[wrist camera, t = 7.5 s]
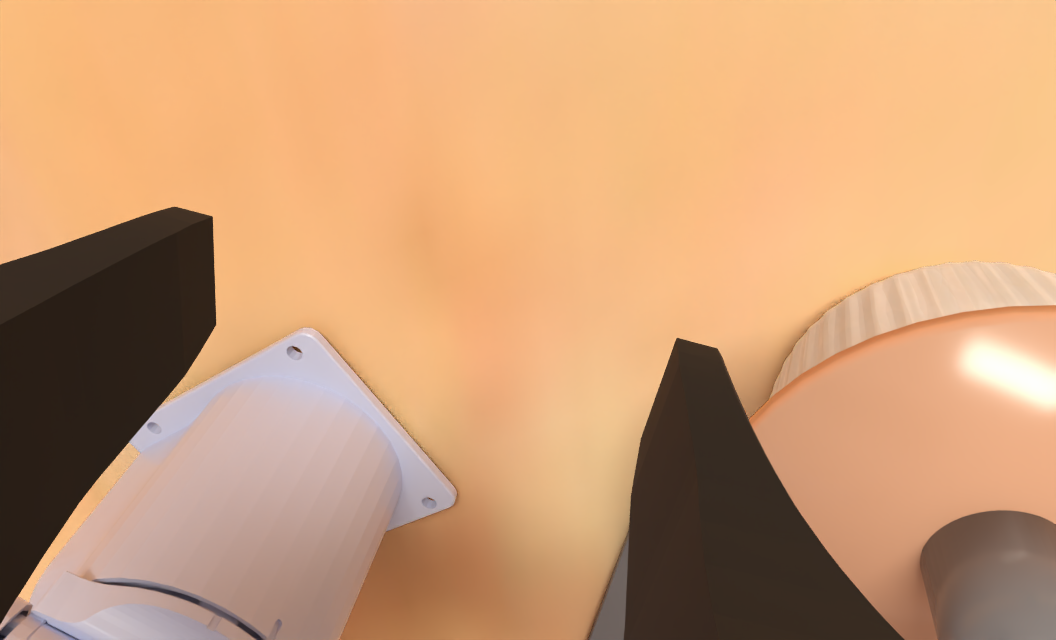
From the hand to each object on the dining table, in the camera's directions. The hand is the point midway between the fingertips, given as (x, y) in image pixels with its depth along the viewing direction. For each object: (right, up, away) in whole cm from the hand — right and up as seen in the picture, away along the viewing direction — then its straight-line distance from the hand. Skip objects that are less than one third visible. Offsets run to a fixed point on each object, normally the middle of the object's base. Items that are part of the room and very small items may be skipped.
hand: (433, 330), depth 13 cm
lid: (+12, -5, +7) cm, 15 cm away
